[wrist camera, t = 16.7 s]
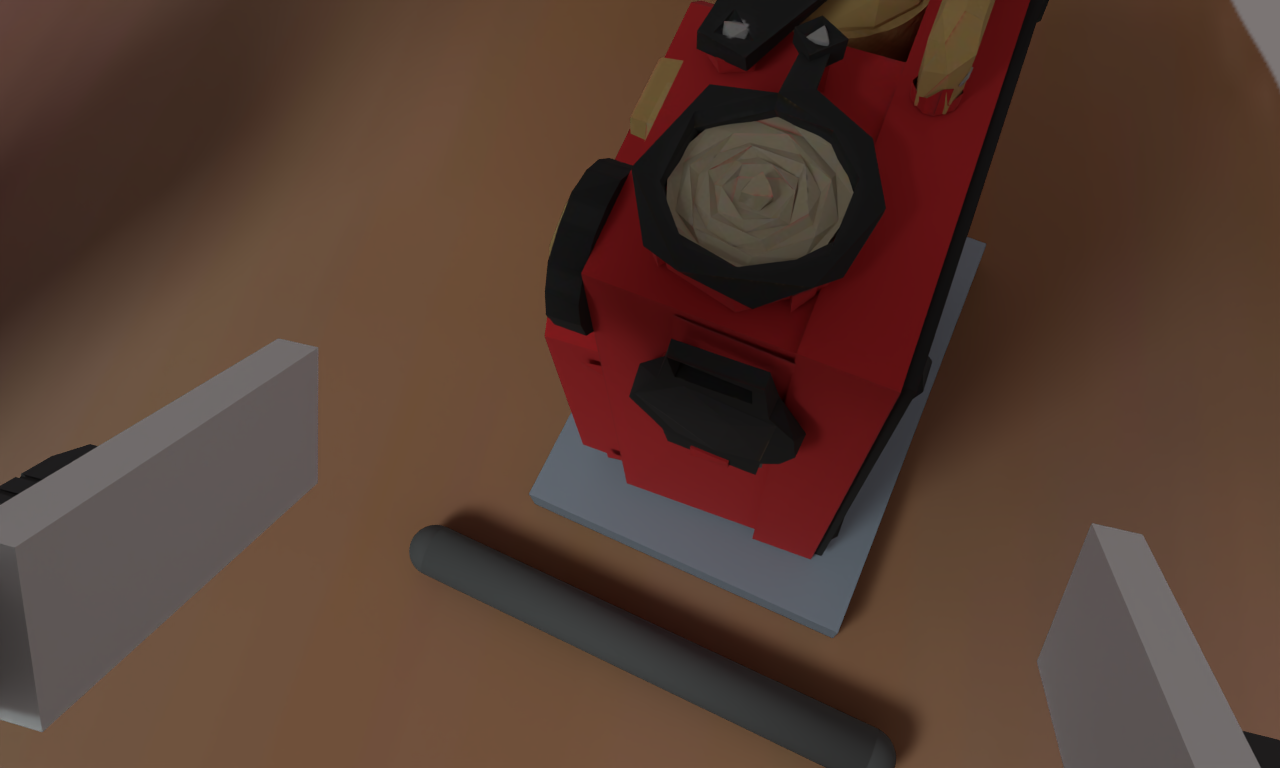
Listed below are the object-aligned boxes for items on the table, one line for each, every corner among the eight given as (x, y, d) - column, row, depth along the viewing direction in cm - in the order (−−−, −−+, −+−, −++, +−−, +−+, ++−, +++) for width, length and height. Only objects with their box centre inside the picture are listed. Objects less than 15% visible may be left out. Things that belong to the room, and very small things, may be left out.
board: (534, 503, 40) (529, 494, 38) (708, 165, 45) (709, 146, 44) (832, 638, 37) (837, 633, 36) (977, 260, 43) (986, 243, 41)
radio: (710, 182, 43) (719, -259, 25) (930, 251, 41) (1121, -172, 23) (570, 499, 38) (450, 241, 20) (815, 594, 36) (940, 407, 18)
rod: (408, 567, 39) (393, 557, 37) (432, 523, 40) (419, 511, 38) (879, 795, 35) (889, 796, 33) (897, 741, 35) (909, 740, 34)
